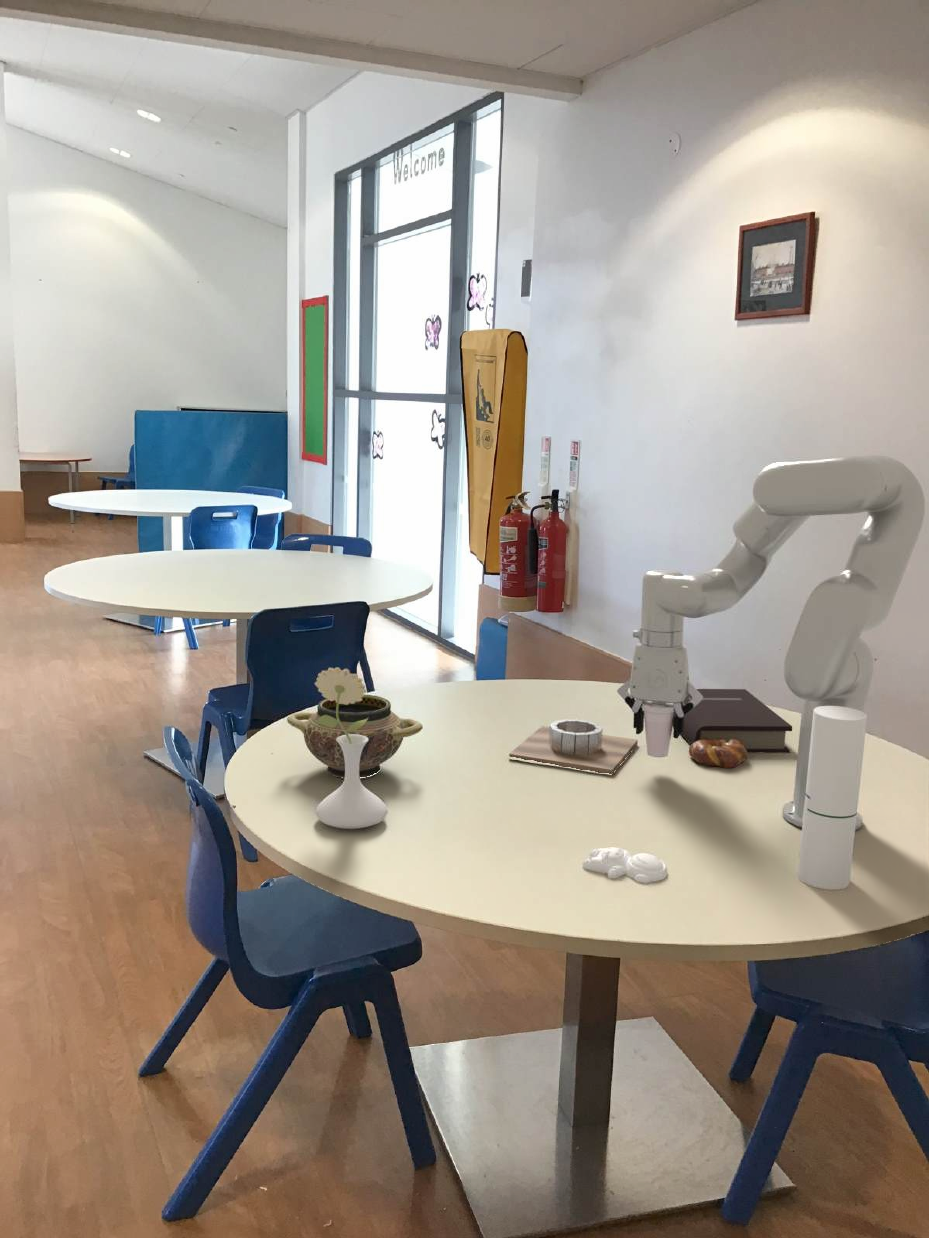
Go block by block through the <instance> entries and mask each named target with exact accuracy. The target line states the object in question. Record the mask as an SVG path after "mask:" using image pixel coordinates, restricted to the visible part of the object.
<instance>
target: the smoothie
mask: <svg viewBox="0 0 929 1238" xmlns="http://www.w3.org/2000/svg"><path fill="white" fill-rule="evenodd" d="M642 709H643V711H644V729H645V731H644V732H645V741H646V753H647V756H649V757H651V758H652V757H653V758H666V757H668V756H669V755H668V754H669V749H670V744H671V737H672V734H673V733H672V731H673V728H674V725H673V721H674V715H675V708H674V705H673V703H663V702H653V701H644V702H643V703H642Z"/></svg>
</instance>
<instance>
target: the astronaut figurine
mask: <svg viewBox="0 0 929 1238" xmlns="http://www.w3.org/2000/svg"><path fill="white" fill-rule="evenodd" d="M582 868H583V869H585V870H589V871H593V872H597V873H603V874H607V878H609V879H617V878H619V877H621V876H624V875H626V876H627V877H629V878H631V879H634V881H635V882H637V883H639V884H640V883H641V884H649V883H650V884H651V882H657V881H661V880H663V879H665V878H667V876H668V867H667V865H666V864H665V862H664V860H661V858H659V857H657V856H655V855H653V854H650V853H645V852H644V853H643V852H642V853H636V854H634V855H632V856H631V853H630V852H629V851H628V850H626V849H622V848H620V847H613V846H612V847H611V846H610V847H606V848H604V847H602V848H595V849H592V850H591V851H590V852H589V858H587V859H585V860H584V861H582Z"/></svg>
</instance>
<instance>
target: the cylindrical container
mask: <svg viewBox="0 0 929 1238" xmlns="http://www.w3.org/2000/svg"><path fill="white" fill-rule="evenodd" d="M867 722H868V714H867V713H866V712H865V711H864V712H862V711H859V710H856V709H852V708H848V707H841V706H820V707H816V708H814V711H813V722H812V732H811V743H810V753H809V763H808V774H807V784H806V794H805V805H804V815H803V826H802V827H801V836H800V837H801V838H800V845H799V846H800V847H799V848H800V849H799V859H798V866H797V868H798V869H797V878H798V880H800V881H801V882H803V883H804V884H806V885H808V886H811V887H814V888H817V889H821V890H826V891H827V890H828V891H829V890H831V891H832V890H833V891H834V890H842V889H846V888H848V887H849V886H850V882H851V881H850V880H851V873H852V872H851V871H852V862H853V854H854V853H853V851H854V843H855V834H856V831H855V826H856V816H857V812H858V805H859V797H860V787H861V778H862V768H863V760H864V752H865V751H864V750H865V742H866V741H865V740H866V732H867V731H866V730H867Z"/></svg>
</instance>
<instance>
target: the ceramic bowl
mask: <svg viewBox="0 0 929 1238" xmlns="http://www.w3.org/2000/svg"><path fill="white" fill-rule="evenodd" d="M361 698H362V701H358V702H356V701H355V703H354V704H351V703H349V704H348V705H345V704H339V707H338V717H339V720H340V722H341V724H342V725H343V727H344V728H345V730H347V729H348V728H349V727H350V726H351V725H352V724H353V723H355V722H357V721H361V720H365V719H367V718H368V720H367V721H366V723H365V724H364V725H363V726H362V727H360V728H359V729H357V730H354V731H346V732H347V733H348V735H349V734H356V735H363V736H365V737H367V738H368V742H367V743H366V744H365V746H364V747H363V750H362V752H361V757H360V764H359V777H367V776H370V775H373V774H374V773H377V772H378V771H379V770H380V767H381V765H382V764H383V763H385V762H387V761H388V760H389V759H391V758H393V756H394V755H395V754H396V753H397V752H398V750H399V748H400V747H401V745H402V743H403V741H404V738H408V737H409V738H410V737H412V736H414V735H416V734H419V733H420V732H421V731H422V730H423V724H422V723H421V722H420V721H418V720H414V719H411V718H401V717H400V716H398V715H397V714H396V713H394V712H393V711H391V707H392V706H391V705H392V703H391V701H389V700H388V699H386V698H384V697H381V696H378V695H372V694H364V696H363V697H361ZM336 706H337V703H336V701H335V700H334V701H330V700H328V699H327V698H325V699H323V700H321V701H319V702H318V704H317V711H316V712H306V711H305V712H303V711H301V712H294V713H291V714H290V715H289V716H287V719H286V721H287V723H288V724H289V725H290V726H292V727H294V728H296V729H297V730H299V731H300V732H301V733H302V734H303V738H304V743H305V745H306V747H307V750H309V752H310V753H311V754H312V755H313V756H314V758H315V759H316V760H318V761H320V763H322V764H323V765H326V766H327V772H328V774H330V773H331V774H332V775H333V776H332V775H331V774H330V775H331V776H332V777H335V776H336V777H335V778H337V777H343V778H345V760H344V754H343V751H342V748H341V746H340V745H339V743H338V742H337V740H336V739H337V738H338V737H339V736H342V735H346V734H345V733H344V731H343V729H342V728H341V726H340V724H339V723H338V724H337V725H336V726H335V727H333V728H331V727H327V726H325V725H321V724H317V723H315V722H316V721H317V720H318V719H319V718H320V717H321V716H323V715H328V716H331V717H333V718H335V719H337V717H336Z"/></svg>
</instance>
